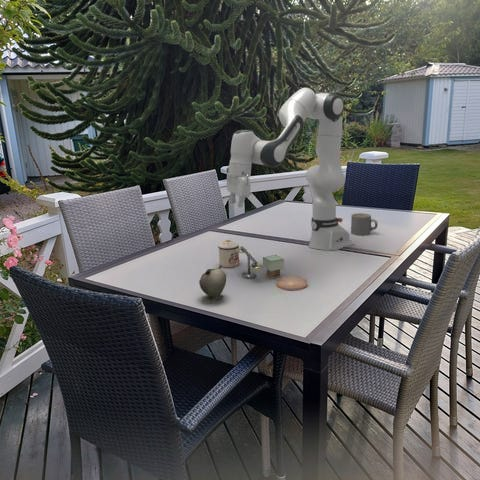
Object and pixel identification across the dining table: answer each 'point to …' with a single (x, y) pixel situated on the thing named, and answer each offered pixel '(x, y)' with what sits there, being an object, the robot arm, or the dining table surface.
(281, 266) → the cover
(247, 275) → the balance
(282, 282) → the saucer
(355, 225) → the coffee mug
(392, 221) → the dining table surface
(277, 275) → the block
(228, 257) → the teacup with lid
